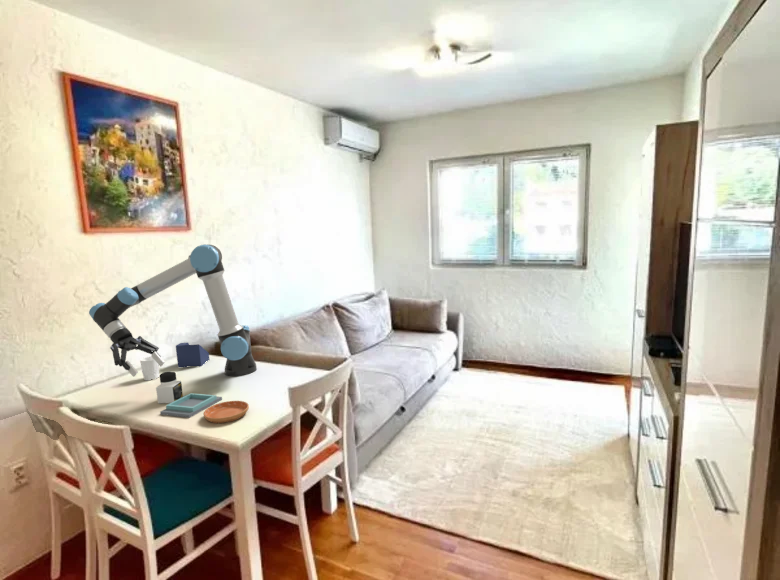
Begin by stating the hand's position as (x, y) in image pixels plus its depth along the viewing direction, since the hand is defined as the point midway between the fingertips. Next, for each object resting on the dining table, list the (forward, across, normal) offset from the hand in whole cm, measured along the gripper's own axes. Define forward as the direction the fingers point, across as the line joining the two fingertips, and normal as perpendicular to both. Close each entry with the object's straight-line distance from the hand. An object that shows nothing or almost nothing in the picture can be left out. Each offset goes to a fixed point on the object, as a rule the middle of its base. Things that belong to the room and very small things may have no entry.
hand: (149, 369), depth 182 cm
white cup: (-8, -22, -27) cm, 35 cm away
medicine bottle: (+16, 0, -3) cm, 16 cm away
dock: (+26, +4, +8) cm, 28 cm away
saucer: (+41, +8, +22) cm, 47 cm away
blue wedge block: (-5, -46, -24) cm, 53 cm away
